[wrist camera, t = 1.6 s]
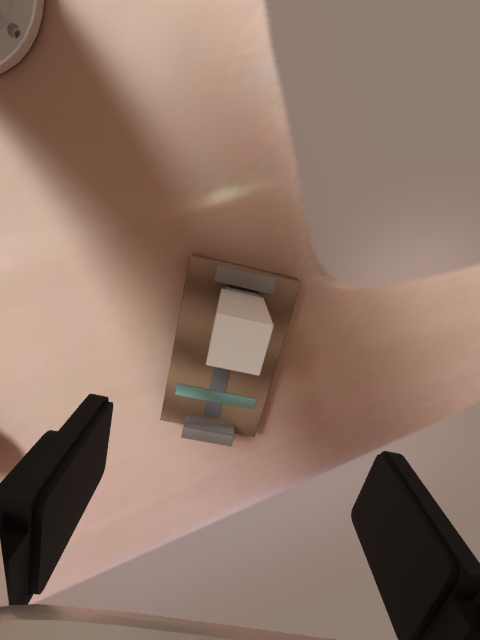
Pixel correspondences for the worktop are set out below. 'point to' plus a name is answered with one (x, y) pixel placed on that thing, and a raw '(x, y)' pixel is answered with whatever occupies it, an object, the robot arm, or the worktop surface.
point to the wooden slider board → (212, 382)
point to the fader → (240, 331)
